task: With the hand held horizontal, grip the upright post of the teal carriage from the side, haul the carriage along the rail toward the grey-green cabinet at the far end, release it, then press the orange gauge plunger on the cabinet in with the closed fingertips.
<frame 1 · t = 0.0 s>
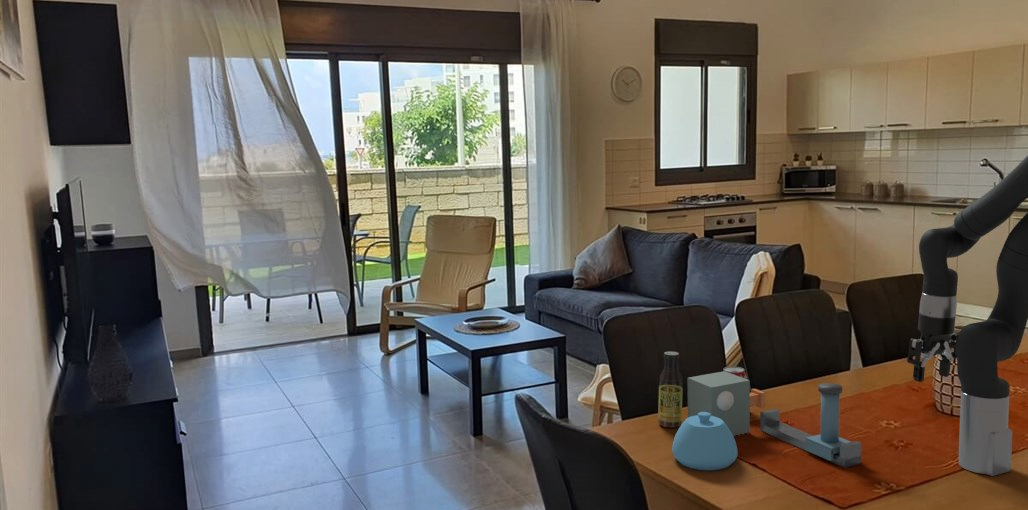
hand: (931, 378, 185), 17 cm above the table, tool pointing down, fingers open, 8 cm apart
carriage: (829, 419, 184), point 9 cm above the table, slide at 0.0 cm
sauce bottle: (670, 425, 210), on the table
plunger: (747, 400, 203), point 8 cm above the table, slide at 0.0 cm
rail: (807, 446, 191), on the table
soda can: (734, 411, 219), on the table
cabinet: (718, 431, 204), on the table
sugar bowl: (704, 461, 185), on the table
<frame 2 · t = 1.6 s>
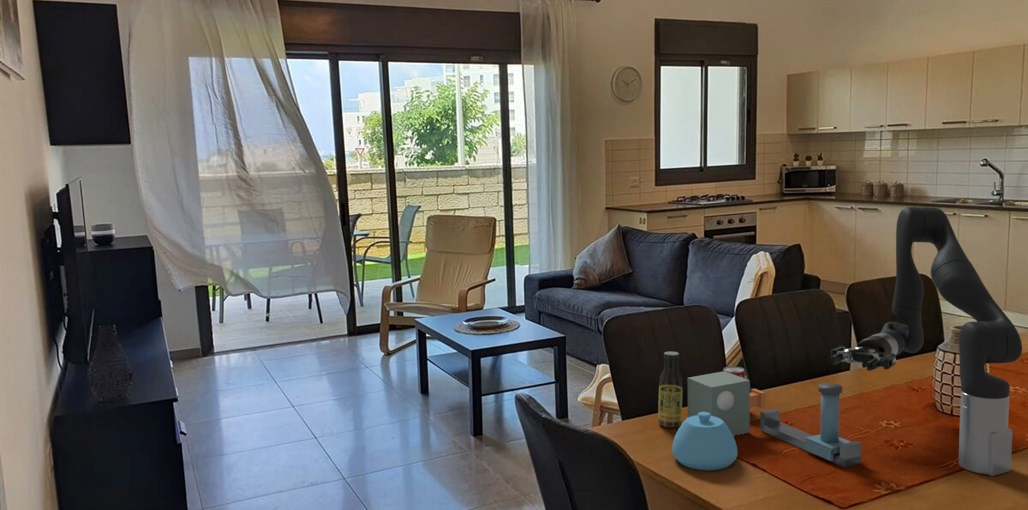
hand: (850, 363, 190), 20 cm above the table, tool horizontal, fingers open, 8 cm apart
nothing on the table moved.
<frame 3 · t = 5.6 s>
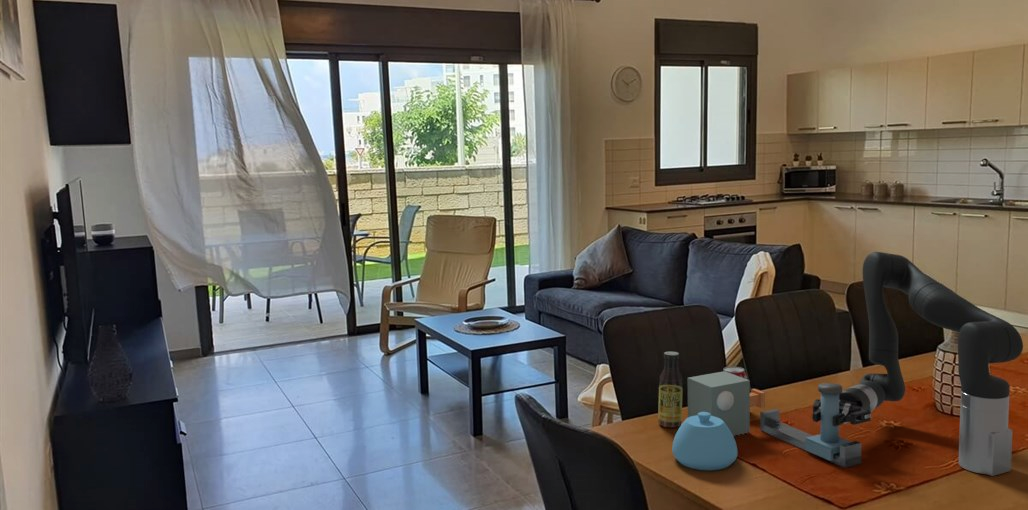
hand: (824, 420, 182), 9 cm above the table, tool horizontal, fingers closed on carriage, 4 cm apart
carriage: (829, 419, 184), point 9 cm above the table, slide at 0.0 cm, touching gripper
everything else where it was.
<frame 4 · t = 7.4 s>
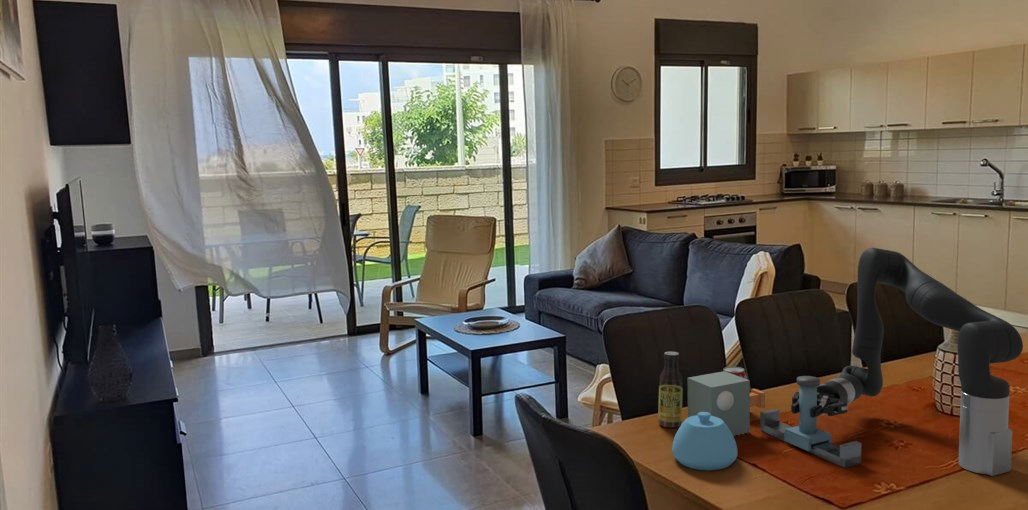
hand: (802, 411, 188), 10 cm above the table, tool horizontal, fingers closed on carriage, 4 cm apart
carriage: (807, 411, 190), point 9 cm above the table, slide at 7.0 cm, touching gripper
everything else where it was.
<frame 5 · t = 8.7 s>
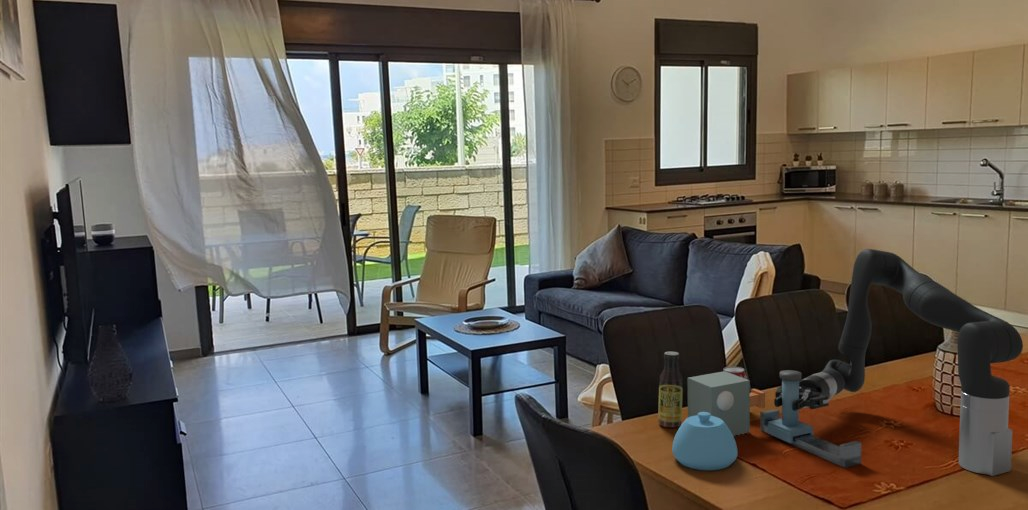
hand: (785, 404, 194), 10 cm above the table, tool horizontal, fingers closed on carriage, 4 cm apart
carriage: (790, 404, 196), point 9 cm above the table, slide at 12.9 cm, touching gripper
everything else where it was.
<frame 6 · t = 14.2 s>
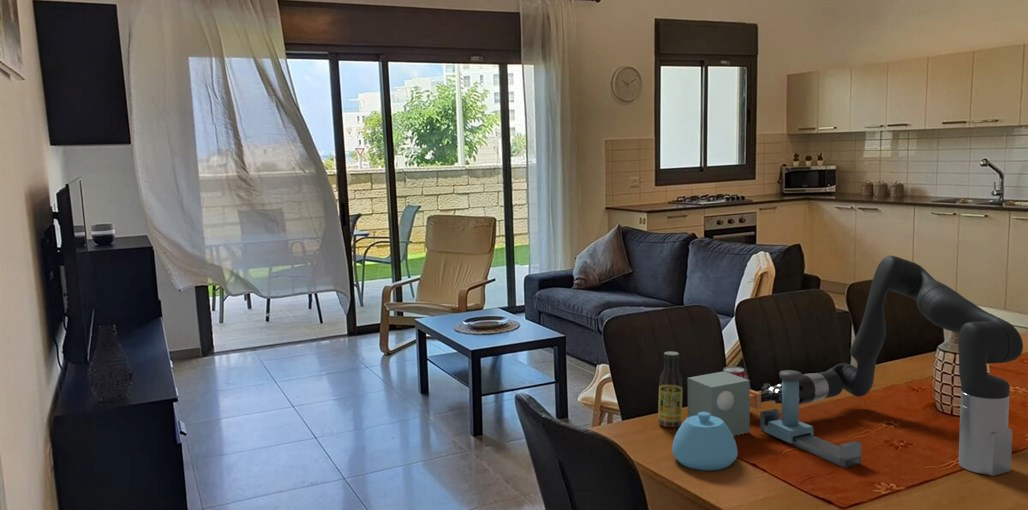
hand: (755, 398, 204), 8 cm above the table, tool horizontal, fingers closed
carriage: (790, 404, 196), point 9 cm above the table, slide at 12.9 cm
plunger: (743, 401, 202), point 8 cm above the table, slide at 1.4 cm, touching gripper
everything else where it was.
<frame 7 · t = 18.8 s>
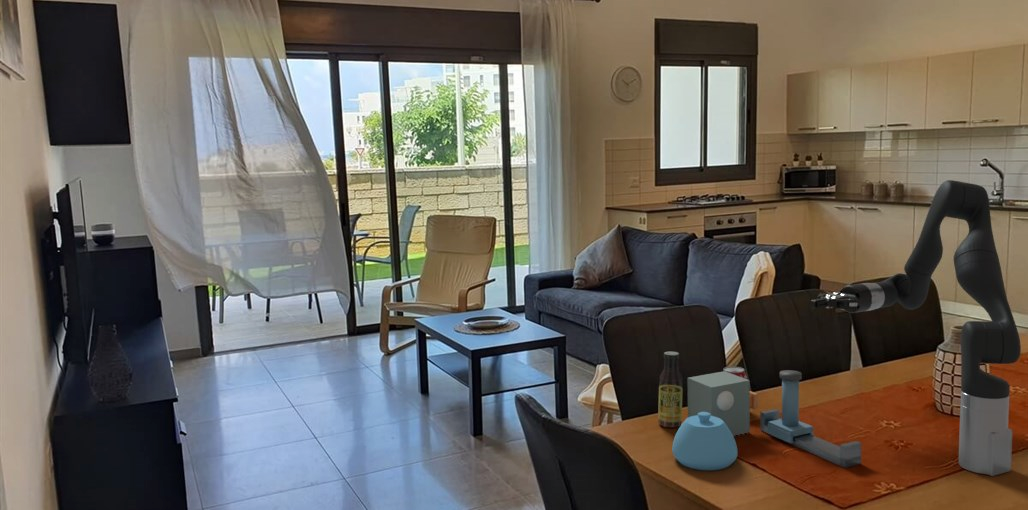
hand: (812, 304, 203), 32 cm above the table, tool horizontal, fingers closed
plunger: (740, 401, 202), point 8 cm above the table, slide at 2.3 cm
everything else where it was.
at the end: carriage slide at 12.9 cm; plunger slide at 2.3 cm; the gripper is holding nothing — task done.
